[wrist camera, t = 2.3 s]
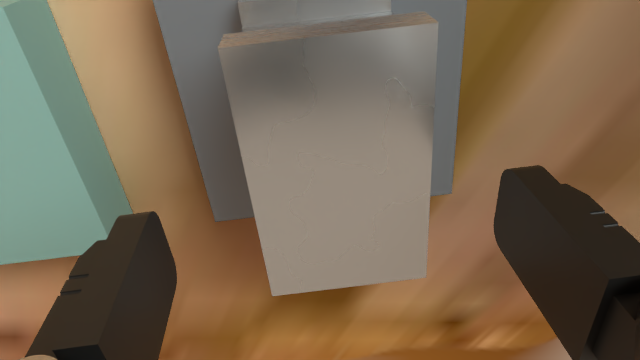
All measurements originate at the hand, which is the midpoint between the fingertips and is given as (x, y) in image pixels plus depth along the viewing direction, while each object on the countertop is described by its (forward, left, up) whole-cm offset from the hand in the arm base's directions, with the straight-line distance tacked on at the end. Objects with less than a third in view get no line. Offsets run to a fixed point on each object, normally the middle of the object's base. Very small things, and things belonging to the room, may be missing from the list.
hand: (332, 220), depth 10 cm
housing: (0, 0, -8) cm, 8 cm away
